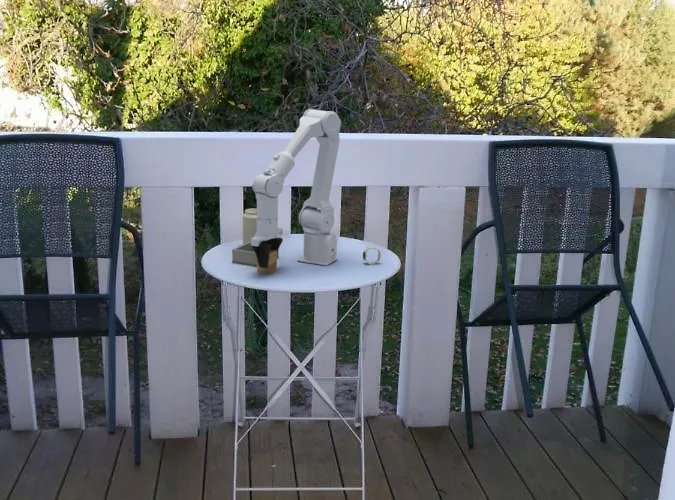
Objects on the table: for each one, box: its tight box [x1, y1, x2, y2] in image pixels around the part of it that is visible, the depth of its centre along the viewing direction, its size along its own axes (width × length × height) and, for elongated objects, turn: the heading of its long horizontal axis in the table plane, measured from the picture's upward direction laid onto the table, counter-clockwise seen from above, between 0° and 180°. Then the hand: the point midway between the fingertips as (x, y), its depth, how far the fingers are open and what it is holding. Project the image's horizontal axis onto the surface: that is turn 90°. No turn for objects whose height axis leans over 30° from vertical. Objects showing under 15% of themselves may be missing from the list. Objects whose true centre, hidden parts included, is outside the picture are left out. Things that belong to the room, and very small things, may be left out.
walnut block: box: [256, 250, 278, 275], centre depth 204 cm, size 4×4×6 cm
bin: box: [231, 241, 280, 268], centre depth 215 cm, size 9×11×4 cm
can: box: [242, 207, 257, 245], centre depth 227 cm, size 8×8×12 cm
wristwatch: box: [362, 246, 381, 265], centre depth 214 cm, size 3×5×5 cm, turn 104°
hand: (267, 265), depth 204 cm, fingers closed on walnut block, 4 cm apart
